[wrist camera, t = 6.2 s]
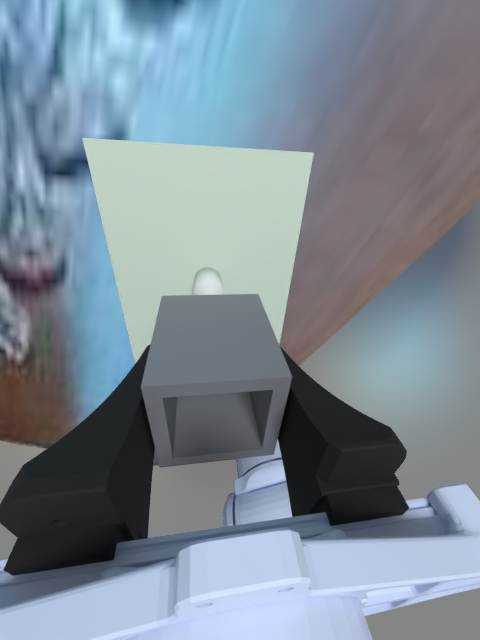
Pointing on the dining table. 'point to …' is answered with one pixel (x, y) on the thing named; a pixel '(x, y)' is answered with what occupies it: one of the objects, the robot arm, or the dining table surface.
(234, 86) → the dining table surface
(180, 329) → the duct sleeve
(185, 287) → the duct base
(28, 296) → the dining table surface
